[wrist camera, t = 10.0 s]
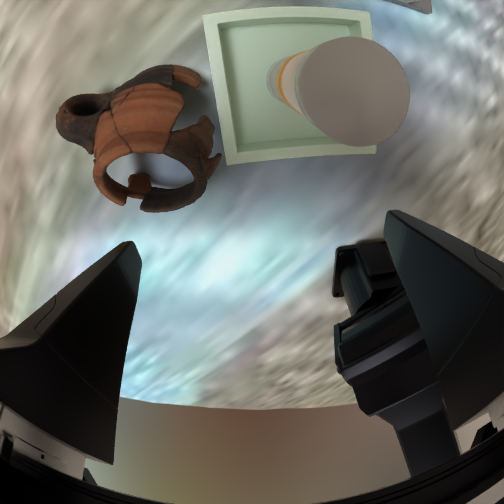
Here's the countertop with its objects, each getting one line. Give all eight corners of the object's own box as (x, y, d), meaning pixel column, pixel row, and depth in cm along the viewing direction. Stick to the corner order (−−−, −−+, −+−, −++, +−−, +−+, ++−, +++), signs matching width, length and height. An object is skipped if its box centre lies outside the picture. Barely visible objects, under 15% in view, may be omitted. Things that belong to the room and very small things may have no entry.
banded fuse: (325, 92, 17) (422, 124, 7) (282, 112, 18) (332, 164, 8) (302, 50, 15) (382, 24, 5) (256, 70, 16) (279, 61, 6)
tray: (361, 143, 20) (376, 153, 17) (228, 154, 20) (226, 165, 18) (354, 18, 13) (369, 12, 11) (207, 23, 14) (202, 15, 12)
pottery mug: (242, 75, 17) (247, 152, 14) (198, 153, 25) (192, 230, 21) (85, 40, 12) (27, 111, 8) (77, 130, 19) (46, 207, 16)
